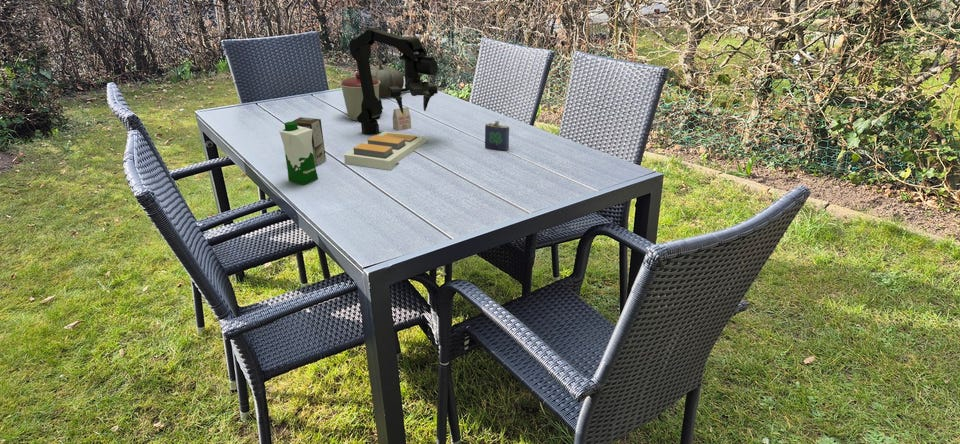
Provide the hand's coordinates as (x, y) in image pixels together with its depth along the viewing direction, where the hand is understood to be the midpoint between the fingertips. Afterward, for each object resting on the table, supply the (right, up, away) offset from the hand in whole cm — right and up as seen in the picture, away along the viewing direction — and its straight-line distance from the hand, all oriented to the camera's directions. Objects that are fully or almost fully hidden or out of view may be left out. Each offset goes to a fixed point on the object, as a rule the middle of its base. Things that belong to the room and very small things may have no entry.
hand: (413, 111), depth 228 cm
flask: (+33, -15, 0) cm, 36 cm away
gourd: (-26, +24, +79) cm, 86 cm away
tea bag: (-7, -4, +22) cm, 23 cm away
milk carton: (-35, -29, -28) cm, 54 cm away
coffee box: (-37, -21, -12) cm, 44 cm away
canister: (-28, +4, +39) cm, 48 cm away
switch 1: (-13, -19, -14) cm, 27 cm away
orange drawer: (-10, -14, -6) cm, 18 cm away
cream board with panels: (-12, -17, -4) cm, 21 cm away
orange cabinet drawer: (-6, -12, +3) cm, 14 cm away
